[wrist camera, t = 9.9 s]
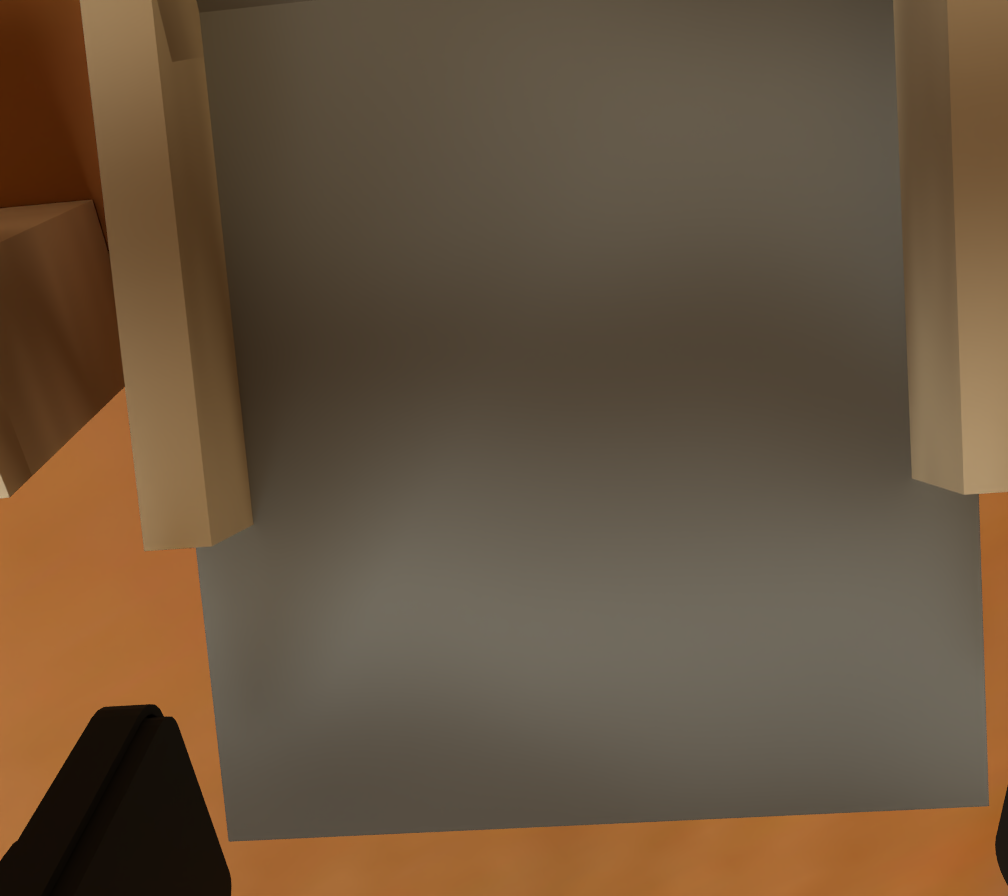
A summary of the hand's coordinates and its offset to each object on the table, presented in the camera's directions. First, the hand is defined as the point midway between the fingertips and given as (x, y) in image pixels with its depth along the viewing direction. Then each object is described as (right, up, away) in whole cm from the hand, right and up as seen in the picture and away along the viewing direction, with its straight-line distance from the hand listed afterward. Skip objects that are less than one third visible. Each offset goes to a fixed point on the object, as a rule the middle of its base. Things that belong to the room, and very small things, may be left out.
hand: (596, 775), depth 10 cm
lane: (-1, +15, +1) cm, 15 cm away
